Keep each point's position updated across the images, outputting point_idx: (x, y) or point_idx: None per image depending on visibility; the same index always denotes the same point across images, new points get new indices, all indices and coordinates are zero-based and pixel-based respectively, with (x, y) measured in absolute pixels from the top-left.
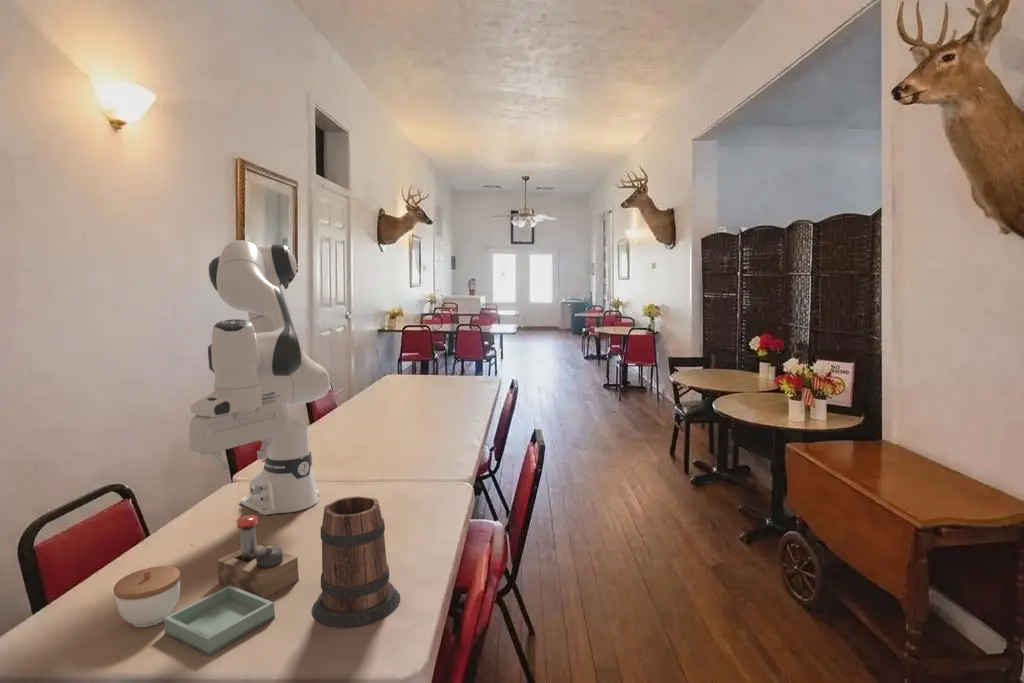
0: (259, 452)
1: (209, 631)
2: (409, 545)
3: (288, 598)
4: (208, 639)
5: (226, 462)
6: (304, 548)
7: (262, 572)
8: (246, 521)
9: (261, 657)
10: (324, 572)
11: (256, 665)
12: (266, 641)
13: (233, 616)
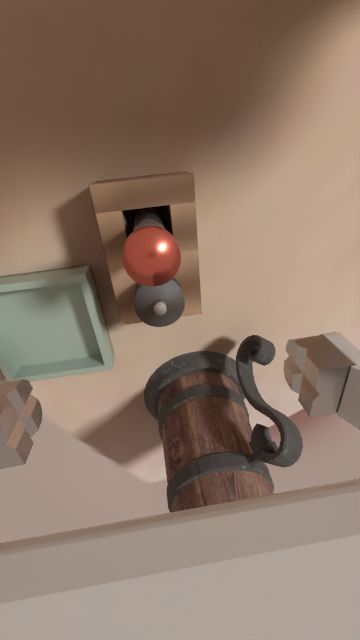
0: (312, 385)
1: (29, 332)
2: (355, 331)
3: (152, 328)
4: None
5: (14, 462)
6: (285, 190)
7: (130, 316)
8: (140, 276)
9: (66, 405)
10: (164, 435)
11: (57, 412)
12: (83, 387)
13: (69, 323)
